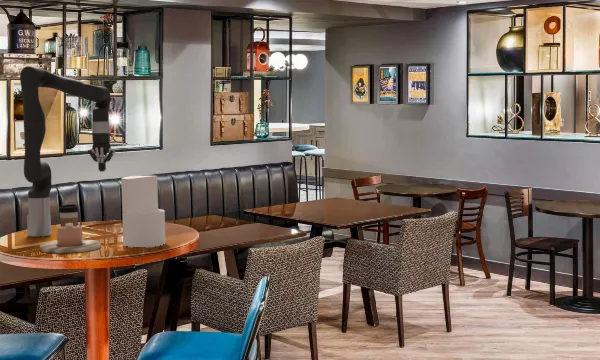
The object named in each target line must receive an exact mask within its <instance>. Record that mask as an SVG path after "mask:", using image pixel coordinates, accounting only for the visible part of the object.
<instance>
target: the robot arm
mask: <svg viewBox="0 0 600 360" xmlns="http://www.w3.org/2000/svg"><path fill="white" fill-rule="evenodd" d="M19 80H20V88H21V93H22V94H21V96H22V111H23V133H24V137H23V138H24V161H23V175H24V179H25V180H26V181H27V182H28V183H32V186H31V188H30V189H29V190H28V193H27V198H28V200H27V201H28V202H27V203H28V214H27V215H26V224H27V225H26V226H27V236H28V237H34V238H35V237H36V238H39V237H40V236H41V237H42V238H43V237H48V236H51V235H52V224H51V223H52V222H51V221H52V220H51V199H50V198H51V196H50V195H51V191H52V170H51V169H52V168H51V167H50V164H49V163H47V162H46V161H43V160H41V149H42V145H43V142H44V139H45V137H46V130H47V129H46V126H47V125H46V124H47V123H46V116H45V111H44V110H43V107H42V105H41V101H40V97H39V88H49V89H54V90H57V91H59V92H61V93H65V94H67V95H70V96H74V97H77V98H82V99H85V100H88V101H91V102H94V103H95V104H94V105H95V106H94V108H93V109H92V112H91V113H92V114H91V116H92V125H91V133H92V136H91V137H92V146H91V147H92V148H91V149H88V150H87V153H88V155H89V156H90V157H91V158H92V160H93V161H94V162H96V163H97V164H98V169H97V170H98V171H99V172H105V171H106V170H107V168H106V167H107V165H106V164H107V162H110V161H111V159H112V158H113V157H114V155H115V153H116V150H115V149H113V148H112V146H111V144H110V143H111V129H110V119H109V118H110V116H109V115H110V114H109V113H110V112H109V111H110V106H111V105H110V104H111V91H110V90H109V88H108V87H106V86H102V85H93V84H90V83H88V82H86V81H82V80H79V79H75V78H71V77H66V76H61V75H58V74H55V73H52V72H50V71H48V70H45V69H44V68H41V67H39V66H32V65H27V66H25V67H23V68H22V69H21V71H20V74H19Z"/></svg>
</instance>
